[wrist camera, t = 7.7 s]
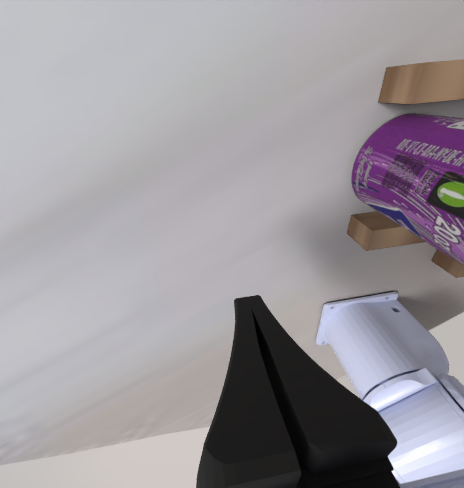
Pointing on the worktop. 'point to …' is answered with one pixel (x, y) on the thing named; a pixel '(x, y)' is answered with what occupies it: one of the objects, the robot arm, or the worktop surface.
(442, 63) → the pin nest
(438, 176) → the beverage can
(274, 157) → the worktop surface
